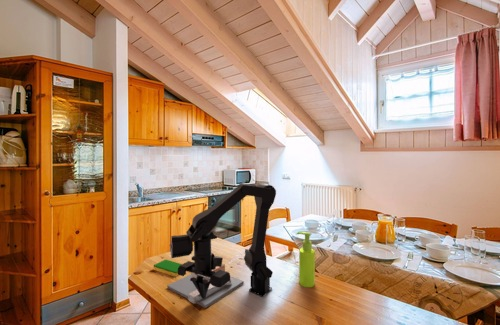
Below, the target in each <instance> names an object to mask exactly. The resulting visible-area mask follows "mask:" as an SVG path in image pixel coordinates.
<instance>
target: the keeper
mask: <svg viewBox="0 0 500 325" xmlns="http://www.w3.org/2000/svg"><path fill="white" fill-rule="evenodd" d="M219 270H223V271H226V264H224V263H222V266H221V267H219V266H218V267H216V269H214V270H212V271H215V272H217V271H219Z"/></svg>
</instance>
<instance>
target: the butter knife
mask: <svg viewBox="0 0 500 325" xmlns="http://www.w3.org/2000/svg"><path fill="white" fill-rule="evenodd" d="M242 255H243V253H238V254H237V255H235V256H236V257H235V256H234V257H235V258H234V257H233V258H232V259H231V260H230V261H229V262H228V263H227V265H230V264H231V263H233V262H234V261H236V260H237V259H239V258H240V257H241V256H242ZM238 257H239V258H238ZM235 259H236V260H235Z"/></svg>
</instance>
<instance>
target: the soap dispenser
mask: <svg viewBox="0 0 500 325" xmlns="http://www.w3.org/2000/svg"><path fill="white" fill-rule="evenodd" d="M296 234H297V235H304V240H302V247H301V248H300V249H299V252H298V254H299V256H298V259H299V262H298V263H299V265H298V266H299V267H298V268H299V270H298V273H299V276H298V277H299V279H298V281H299V282H298V283H299V285H300V286H302V287H304V288H312V287H315V284H316V282H315V281H316V280H315V277H316V276H315V275H316V271H315V270H316V264H315V263H316V250H315V249H313V248H312V245H313V244H312V243H313V242H312V241H311V240H310V237H311V235H312V233H311V232H308V231H303V230H302V231H297V232H296Z"/></svg>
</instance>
